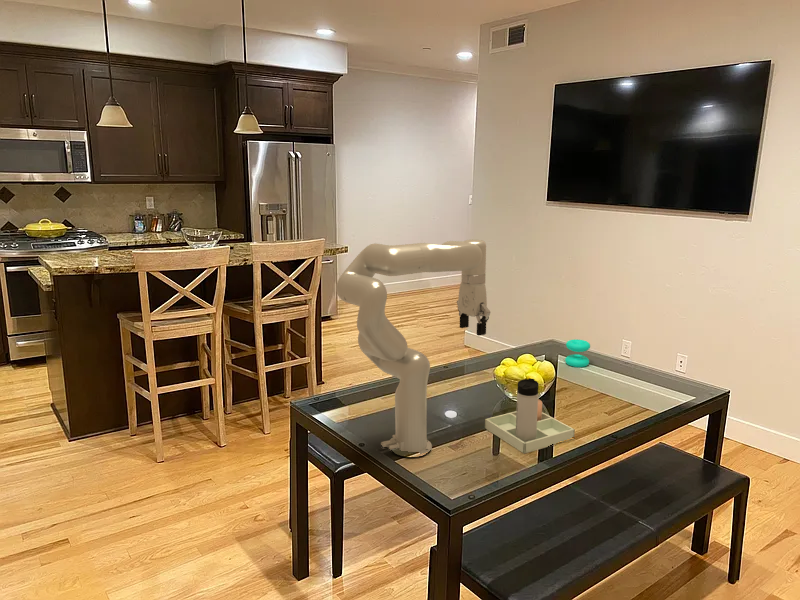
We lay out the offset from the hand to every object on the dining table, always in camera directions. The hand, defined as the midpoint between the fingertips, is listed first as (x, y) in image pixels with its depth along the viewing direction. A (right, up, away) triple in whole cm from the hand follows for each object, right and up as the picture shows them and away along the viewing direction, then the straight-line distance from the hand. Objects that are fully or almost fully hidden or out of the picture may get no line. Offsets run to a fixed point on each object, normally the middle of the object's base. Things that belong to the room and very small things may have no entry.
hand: (472, 331), depth 190 cm
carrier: (+18, -33, -2) cm, 38 cm away
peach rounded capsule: (+20, -31, +4) cm, 37 cm away
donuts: (+53, -18, +64) cm, 85 cm away
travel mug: (+15, -34, -8) cm, 38 cm away
